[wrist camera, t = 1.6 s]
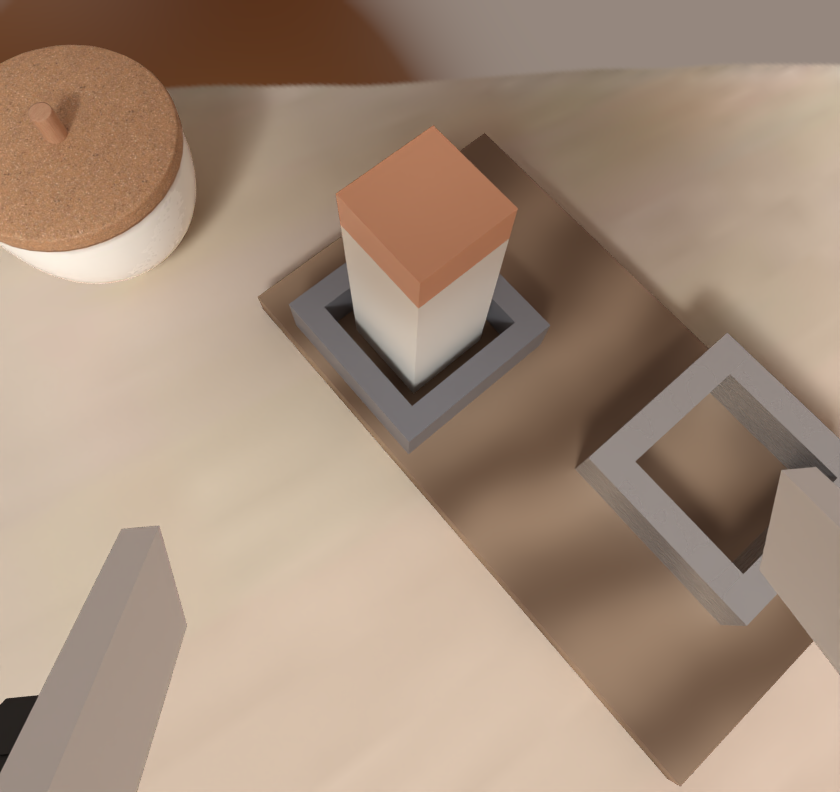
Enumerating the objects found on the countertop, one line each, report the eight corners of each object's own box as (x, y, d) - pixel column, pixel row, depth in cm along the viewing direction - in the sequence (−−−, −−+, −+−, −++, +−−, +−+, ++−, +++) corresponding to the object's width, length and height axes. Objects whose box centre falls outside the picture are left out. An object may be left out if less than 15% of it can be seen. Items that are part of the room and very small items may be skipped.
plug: (356, 330, 35) (335, 193, 24) (422, 279, 36) (432, 125, 25) (413, 393, 34) (420, 283, 23) (480, 339, 35) (517, 208, 24)
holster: (296, 325, 35) (288, 304, 33) (427, 227, 37) (429, 201, 35) (408, 454, 33) (409, 442, 31) (540, 344, 35) (550, 325, 33)
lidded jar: (255, 194, 39) (213, 71, 30) (149, 348, 36) (68, 262, 27) (99, 120, 41) (14, -20, 32) (-16, 263, 38) (-146, 154, 29)
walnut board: (263, 308, 37) (257, 296, 36) (481, 150, 41) (484, 133, 39) (667, 778, 31) (680, 786, 29) (885, 542, 34) (906, 539, 33)
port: (575, 469, 33) (588, 457, 31) (705, 351, 36) (727, 332, 33) (720, 624, 31) (746, 625, 29) (849, 490, 34) (884, 481, 31)
